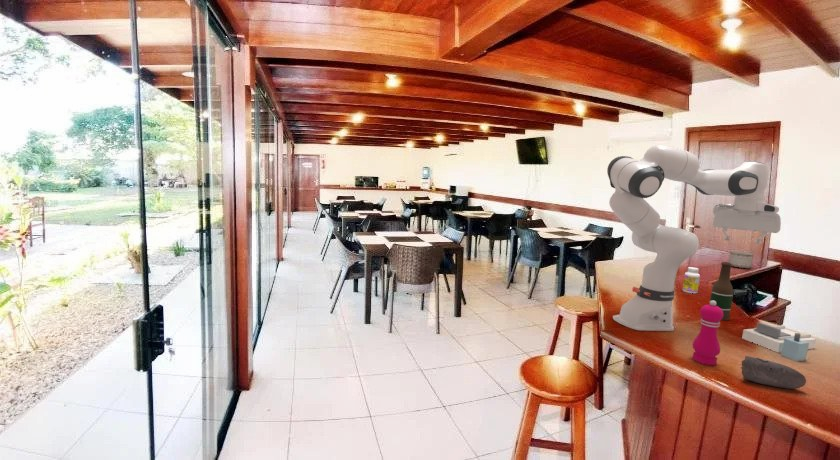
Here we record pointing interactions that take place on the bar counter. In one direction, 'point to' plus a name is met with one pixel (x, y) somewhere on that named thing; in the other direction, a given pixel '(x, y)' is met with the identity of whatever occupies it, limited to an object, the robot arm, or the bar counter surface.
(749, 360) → the perforated stone tool
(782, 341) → the socket board
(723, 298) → the beer bottle
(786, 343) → the plug
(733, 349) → the bar counter surface
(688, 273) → the supplement bottle
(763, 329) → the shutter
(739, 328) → the bar counter surface
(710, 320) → the pepper mill
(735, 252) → the planter
